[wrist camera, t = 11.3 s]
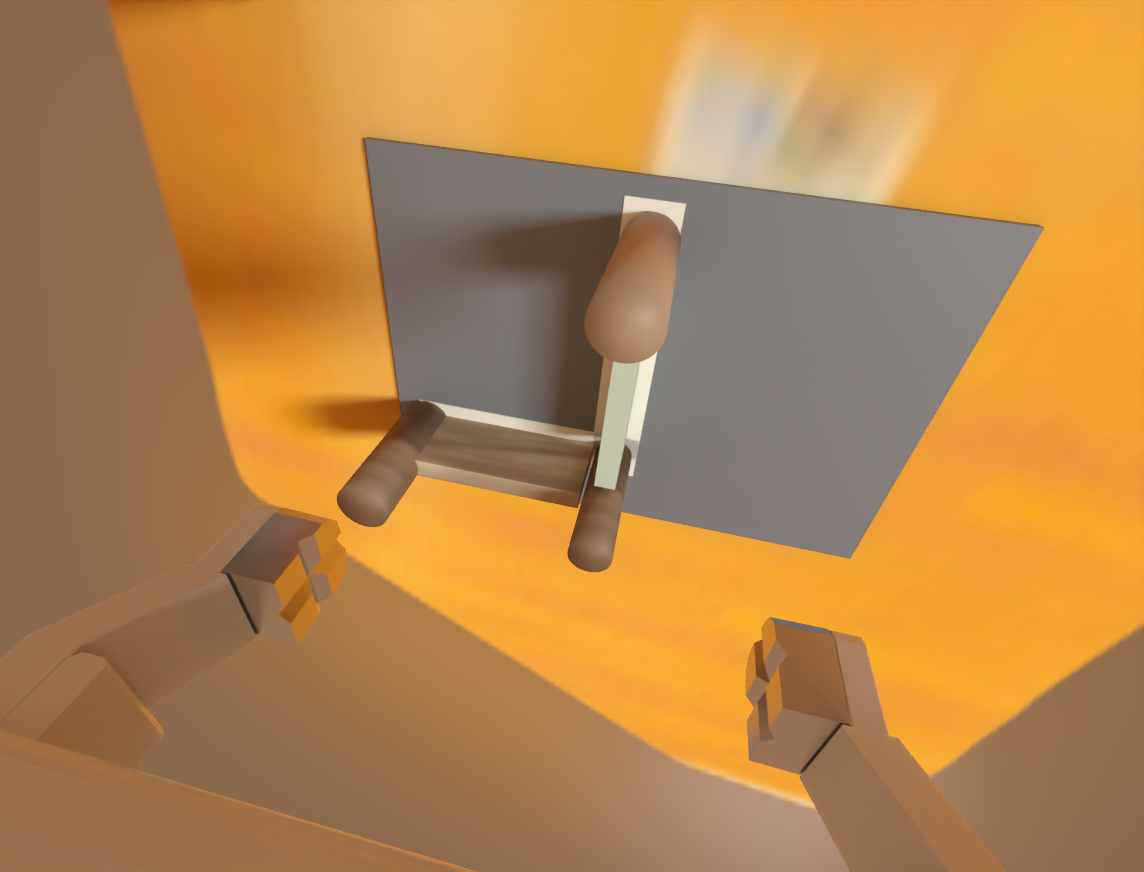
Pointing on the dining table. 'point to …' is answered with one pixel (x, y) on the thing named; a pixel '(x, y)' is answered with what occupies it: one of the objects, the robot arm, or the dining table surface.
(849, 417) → the board
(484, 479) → the fence fixed
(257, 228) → the dining table surface
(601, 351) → the gate
